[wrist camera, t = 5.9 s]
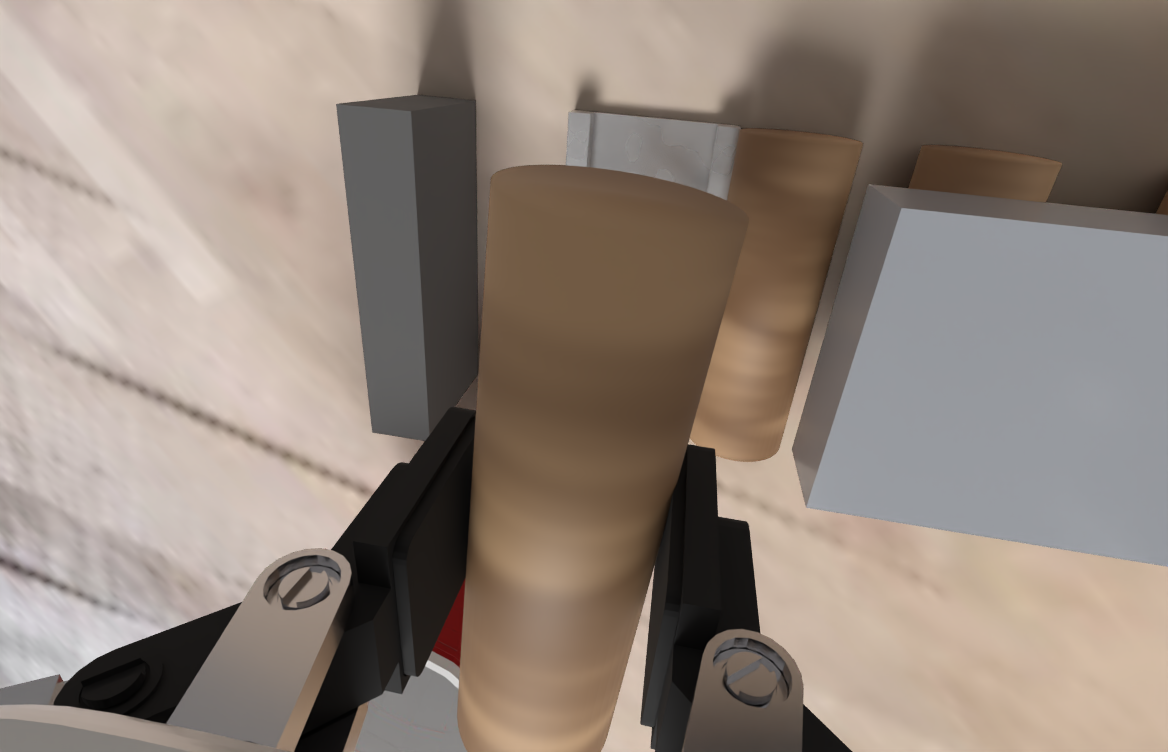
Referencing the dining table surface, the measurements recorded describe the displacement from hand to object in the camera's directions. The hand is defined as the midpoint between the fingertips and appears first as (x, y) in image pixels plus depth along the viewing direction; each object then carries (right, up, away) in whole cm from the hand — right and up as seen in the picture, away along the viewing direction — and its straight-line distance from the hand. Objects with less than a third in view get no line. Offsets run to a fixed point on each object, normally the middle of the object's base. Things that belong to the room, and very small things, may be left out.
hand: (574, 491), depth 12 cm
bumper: (-6, +8, +14) cm, 17 cm away
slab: (+17, +3, +8) cm, 19 cm away
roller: (+1, -1, -1) cm, 2 cm away
